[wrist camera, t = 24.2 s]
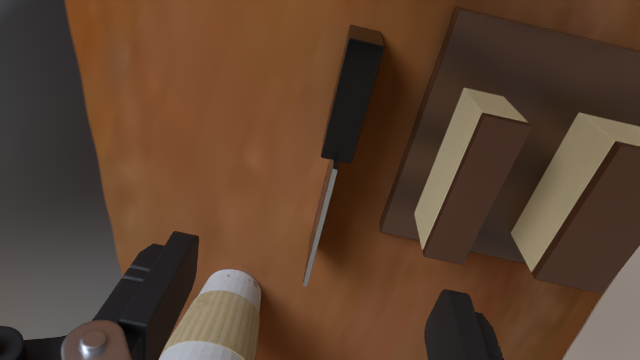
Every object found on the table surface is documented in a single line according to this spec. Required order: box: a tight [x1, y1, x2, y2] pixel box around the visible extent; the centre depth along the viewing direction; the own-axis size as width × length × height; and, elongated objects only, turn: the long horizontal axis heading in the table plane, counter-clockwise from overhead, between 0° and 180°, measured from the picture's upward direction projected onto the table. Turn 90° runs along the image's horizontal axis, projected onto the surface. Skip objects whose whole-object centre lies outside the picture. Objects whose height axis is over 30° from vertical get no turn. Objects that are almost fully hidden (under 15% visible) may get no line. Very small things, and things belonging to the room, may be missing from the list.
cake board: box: [380, 7, 640, 264], centre depth 35 cm, size 20×18×2 cm
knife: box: [303, 25, 384, 286], centre depth 34 cm, size 21×2×6 cm, turn 168°
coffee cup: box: [159, 269, 261, 360], centre depth 40 cm, size 10×10×15 cm
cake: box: [511, 113, 640, 294], centre depth 32 cm, size 12×6×6 cm, turn 168°
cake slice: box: [414, 88, 532, 265], centre depth 32 cm, size 12×3×6 cm, turn 168°
